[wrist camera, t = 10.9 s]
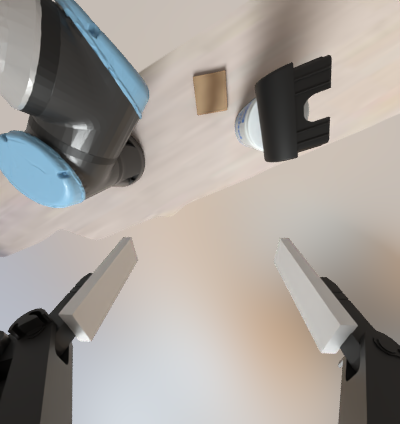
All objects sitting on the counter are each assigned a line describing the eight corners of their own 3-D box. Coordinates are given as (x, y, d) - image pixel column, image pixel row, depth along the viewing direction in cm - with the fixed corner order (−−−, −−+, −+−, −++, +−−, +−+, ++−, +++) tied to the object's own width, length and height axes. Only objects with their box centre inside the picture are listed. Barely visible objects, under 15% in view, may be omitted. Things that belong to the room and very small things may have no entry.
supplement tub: (232, 107, 35) (244, 89, 22) (274, 97, 34) (314, 71, 21) (236, 151, 39) (248, 157, 26) (274, 143, 38) (307, 146, 25)
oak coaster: (197, 115, 36) (197, 114, 35) (193, 78, 33) (192, 76, 32) (226, 110, 35) (227, 109, 35) (224, 72, 32) (225, 70, 32)
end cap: (248, 91, 22) (262, 73, 16) (300, 70, 21) (336, 42, 15) (259, 159, 26) (273, 165, 20) (302, 145, 25) (332, 147, 19)
